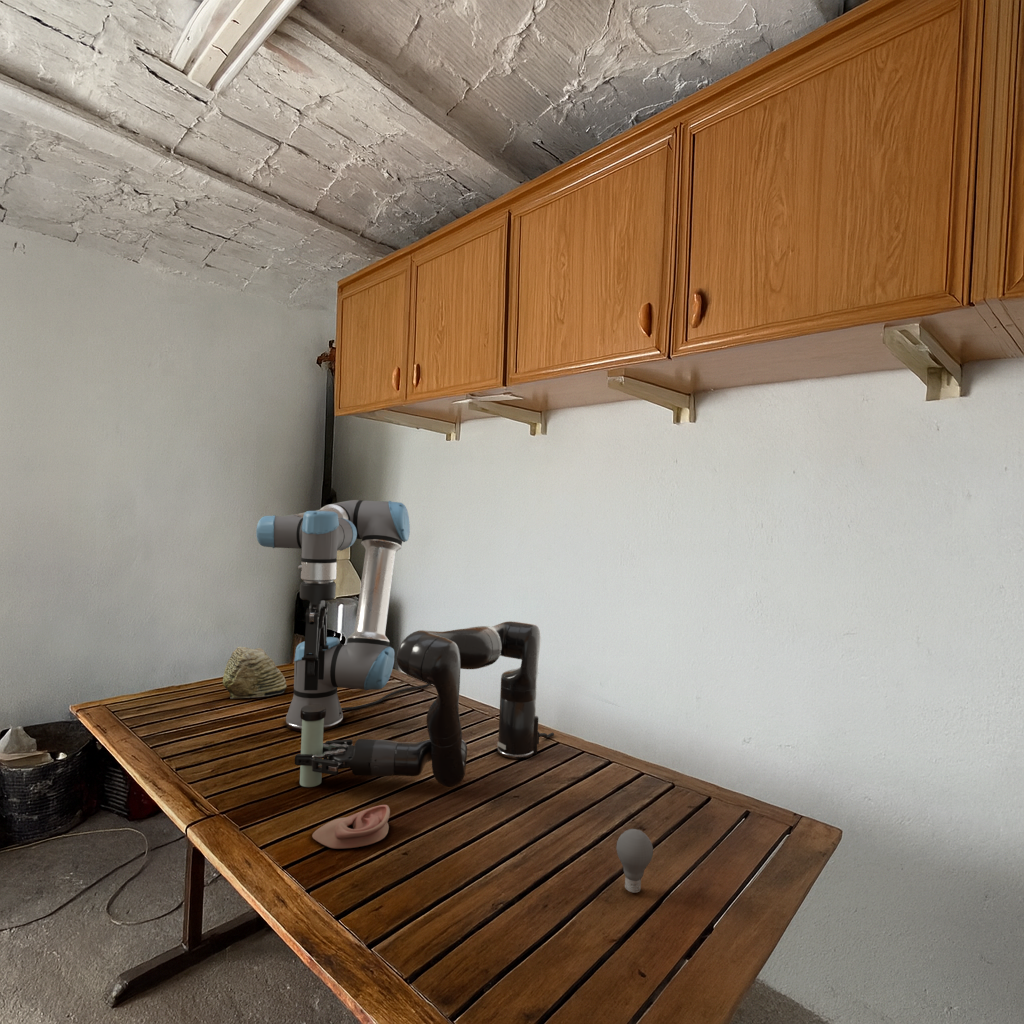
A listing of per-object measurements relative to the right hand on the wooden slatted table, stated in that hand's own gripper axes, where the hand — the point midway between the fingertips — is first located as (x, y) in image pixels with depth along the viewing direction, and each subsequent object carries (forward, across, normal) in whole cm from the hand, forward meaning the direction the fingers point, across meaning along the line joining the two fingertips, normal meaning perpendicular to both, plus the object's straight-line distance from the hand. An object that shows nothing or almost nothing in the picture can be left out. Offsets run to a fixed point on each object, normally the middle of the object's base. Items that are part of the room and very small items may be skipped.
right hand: (299, 754), depth 140 cm
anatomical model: (-17, +21, +6) cm, 27 cm away
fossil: (+33, -58, +6) cm, 67 cm away
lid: (-3, 0, -10) cm, 10 cm away
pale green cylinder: (-3, 0, +6) cm, 7 cm away
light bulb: (-67, +35, +6) cm, 76 cm away
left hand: (-3, 0, -16) cm, 16 cm away
